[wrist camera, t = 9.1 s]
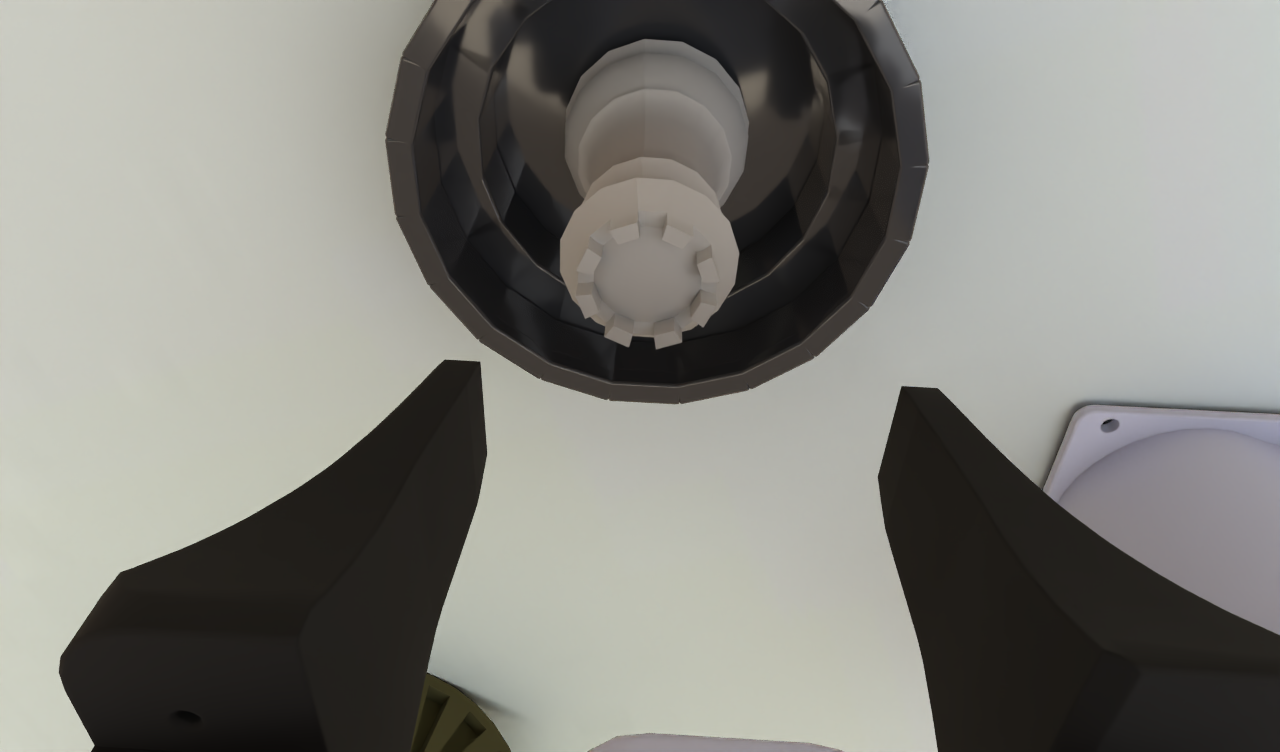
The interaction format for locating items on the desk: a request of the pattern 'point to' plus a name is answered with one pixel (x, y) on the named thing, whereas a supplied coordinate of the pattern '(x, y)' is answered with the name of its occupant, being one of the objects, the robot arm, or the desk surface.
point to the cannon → (453, 722)
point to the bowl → (756, 208)
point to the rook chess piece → (652, 190)
